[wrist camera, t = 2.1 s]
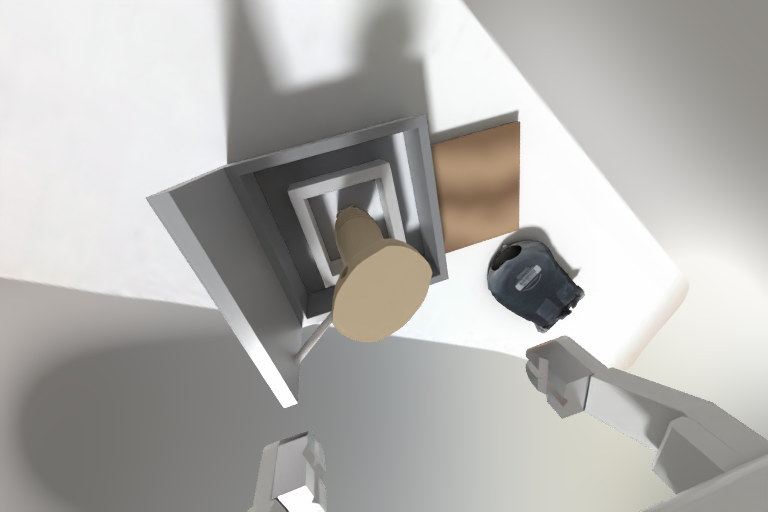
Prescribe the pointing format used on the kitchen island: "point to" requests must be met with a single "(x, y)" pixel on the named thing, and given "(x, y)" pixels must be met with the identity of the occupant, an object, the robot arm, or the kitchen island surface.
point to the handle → (375, 279)
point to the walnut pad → (478, 185)
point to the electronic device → (534, 285)
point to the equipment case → (269, 252)
